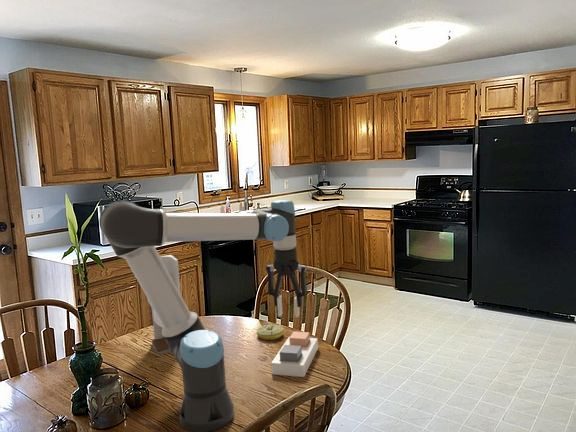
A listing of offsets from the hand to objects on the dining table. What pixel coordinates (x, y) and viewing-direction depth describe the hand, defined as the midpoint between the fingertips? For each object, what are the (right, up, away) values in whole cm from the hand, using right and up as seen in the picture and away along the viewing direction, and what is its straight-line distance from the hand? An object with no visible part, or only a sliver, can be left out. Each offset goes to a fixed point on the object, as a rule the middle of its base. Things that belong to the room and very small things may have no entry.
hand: (288, 315), depth 152 cm
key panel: (+3, -18, +8) cm, 20 cm away
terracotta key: (+4, -13, +13) cm, 19 cm away
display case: (-47, -18, +27) cm, 57 cm away
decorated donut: (-7, -16, +32) cm, 36 cm away
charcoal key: (+1, -15, +2) cm, 15 cm away
